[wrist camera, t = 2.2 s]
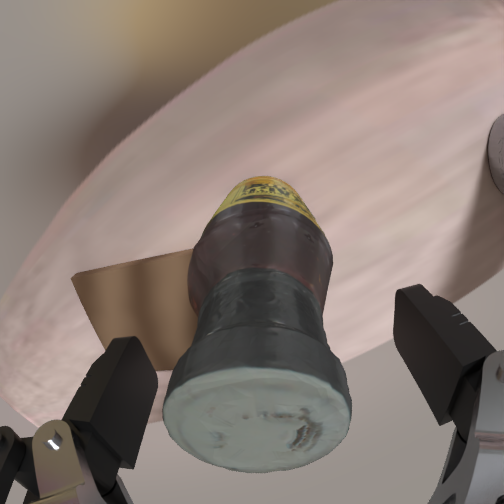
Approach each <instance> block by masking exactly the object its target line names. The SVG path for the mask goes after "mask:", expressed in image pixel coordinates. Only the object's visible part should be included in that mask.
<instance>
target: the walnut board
mask: <svg viewBox="0 0 504 504" xmlns="http://www.w3.org/2000/svg"><path fill="white" fill-rule="evenodd" d="M192 252H193V249H189V250H184V251H179V252H174V253H169V254H165V255H160V256H155V257H150V258H145V259H140V260H136V261H131V262H126V263H121V264H117V265H112V266H107V267H103V268H98V269H93V270H89V271H84V272H80V273H76V274H75V275H74V276H73V277H72V278H71V280H72V283H73V285H74V287H75V290H76V292H77V294H78V296H79V299H80V301H81V303H82V305H83V307H84V309H85V311H86V314H87V316H88V318H89V320H90V322H91V324H92V326H93V328H94V330H95V332H96V333H97V335H98V337H99V339H100V341H101V343H102V345H103V347H104V348H105V350H106V349H107V347H108V346H109V344H110V342H111V341H112V339H114V338H118V337H129V336H136V337H137V338H138V339H139V340H140V342H141V343H142V345H143V348H144V350H145V352H146V354H147V355H148V357H149V359H150V361H151V363H152V365H153V367H154V369H155V371H158V370H173V369H174V367H175V366H176V364H177V362H178V360H179V358H180V357H181V356H182V355H183V354H184V353H185V352H186V351H187V349H188V348H189V347H191V344H192V342H193V338H194V335H195V332H196V329H197V322H198V317H197V315H196V314H195V312H194V311H193V309H192V306H191V304H190V301H189V296H188V285H187V275H188V268H189V263H190V259H191V256H192Z"/></svg>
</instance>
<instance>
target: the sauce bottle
mask: <svg viewBox="0 0 504 504" xmlns="http://www.w3.org/2000/svg"><path fill="white" fill-rule="evenodd" d="M332 266H333V255H332V251H331V247H330V245H329V242H328V240H327V238H326V237H325V234H324V232H323V231H322V230H321V228H320V227H319V225H318V224H317V222H316V220H315V218H314V217H313V215H312V214H311V212H310V211H309V209H308V208H307V206H306V205H305V203H304V202H303V201H302V199H301V198H300V196H299V195H298V193H297V192H296V191H295V190H294V189H293V188H292V187H291V186H290V185H289V184H287V183H286V182H284V181H282V180H280V179H277V178H274V177H270V176H258V177H253V178H249V179H246V180H244V181H242V182H241V183H239V184H238V185H237V186H235V187H234V188H233V189H232V191H231V192H230V193H229V194H228V196H227V197H226V199H225V200H224V201H223V203H222V204H221V205H220V207H219V208H218V210H217V211H216V212H215V214H214V215H213V217H212V218H211V220H210V221H209V223H208V224H207V226H206V228H205V229H204V231H203V234H202V236H201V238H200V240H199V241H198V243H197V244H196V245H195V246H194V249H193V252H192V256H191V259H190V263H189V268H188V275H187V285H188V296H189V301H190V304H191V306H192V309H193V311H194V312H195V314H196V315H197V317H198V322H197V329H196V332H195V335H194V338H193V342H192V344H191V347H189V348H188V349H187V351H186V352H185V353H184V354H183V355H182V356H181V357H180V358H179V360H178V362H177V364H176V366H175V367H174V369H173V372H172V375H171V378H170V381H169V385H168V389H167V393H166V396H165V399H164V403H163V409H162V412H163V421H164V424H165V426H166V428H167V430H168V432H169V435H170V437H171V438H172V439H173V440H174V441H175V442H176V443H177V444H178V445H179V446H180V447H181V448H182V449H183V450H185V451H186V452H188V453H189V454H191V455H193V456H194V457H196V458H198V459H199V460H201V461H204V462H206V463H209V464H212V465H215V466H218V467H223V468H226V469H228V470H232V471H238V472H246V473H268V472H272V471H280V470H281V471H284V470H291V469H295V468H299V467H302V466H305V465H308V464H310V463H312V462H314V461H316V460H318V459H320V458H322V457H324V456H325V455H327V454H329V453H330V452H331V451H332V450H333V449H334V448H335V447H336V446H338V444H340V443H341V441H342V440H343V439H344V438H345V437H346V435H347V432H348V430H349V425H350V421H351V414H352V400H351V397H350V394H349V388H348V385H347V378H346V373H345V371H344V368H343V366H342V364H341V362H340V359H339V358H338V357H336V356H335V355H334V354H333V353H332V352H331V350H330V347H329V345H328V344H327V338H326V333H325V331H324V328H323V317H322V315H323V310H324V306H325V300H326V295H327V290H328V285H329V280H330V276H331V271H332Z"/></svg>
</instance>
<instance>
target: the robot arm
mask: <svg viewBox="0 0 504 504" xmlns="http://www.w3.org/2000/svg"><path fill="white" fill-rule="evenodd" d="M488 157H489V166H490V170H491V174H492V177H493V179H494V182H495V184H496V185H497V187H498V189H499V190H500V191H501V192H502V193H503V194H504V114H502V115H501V116H500V117H498V119H497V120H496V121H495V123H494V125H493V127H492V129H491V133H490V137H489V145H488ZM393 336H394V342H395V345H396V348H397V350H398V352H399V353H400V355H401V357H402V358H403V360H404V362H405V364H406V365H407V367H408V369H409V370H410V372H411V374H412V376H413V378H414V379H415V381H416V383H417V384H418V386H419V388H420V390H421V392H422V394H423V395H424V397H425V399H426V401H427V403H428V405H429V407H430V409H431V410H432V412H433V414H434V416H435V418H436V420H437V422H438V424H439V426H441V425H443V424H445V423H448V422H450V421H452V420H453V422H454V424H455V425H456V428H455V430H454V432H453V437H452V440H451V444H450V448H449V451H448V455H447V458H446V461H445V465H444V467H443V470H442V474H441V476H440V479H439V482H438V485H437V487H436V490H435V492H434V494H433V495H432V497H431V499H430V500H429V502H428V504H504V350H501V351H496V349H495V348H494V347H493V346H492V345H491V344H490V343H489V342H488V341H487V339H486V338H485V337H484V336H483V335H482V334H481V333H480V332H479V331H478V330H477V329H476V327H475V326H474V325H473V324H472V323H471V322H468V319H467V318H466V317H465V316H464V315H463V314H461V312H460V311H459V310H458V309H457V308H456V307H455V306H454V305H453V304H452V303H451V302H450V301H448V300H446V299H444V298H442V297H440V296H434V297H433V296H432V294H431V293H430V292H429V291H428V290H427V289H426V288H425V287H424V286H423V285H421V284H417V285H413V286H409V287H406V288H402V289H398V290H397V291H396V295H395V311H394V327H393ZM157 389H158V378H157V374H156V371H155V369H154V367H153V365H152V363H151V361H150V359H149V357H148V355H147V354H146V352H145V350H144V348H143V345H142V343H141V342H140V340H139V339H138V338H137V337H136V336H129V337H118V338H114V339H112V341H111V342H110V344H109V346H108V347H107V349H106V351H105V353H104V354H102V355H101V356H100V357H99V358H98V359H97V360H96V361H95V362H94V363H93V364H92V365H91V367H90V369H89V371H88V372H87V374H86V377H85V378H84V379H83V381H82V383H81V387H79V388H78V390H77V392H76V394H75V396H74V397H73V399H72V401H71V403H70V405H69V407H68V409H67V411H66V412H65V414H64V416H63V418H62V420H51V421H49V422H46V423H45V424H43V425H42V426H41V427H40V428H39V429H38V430H37V431H36V433H35V435H34V437H27V438H20V437H19V436H18V435H17V434H16V433H15V432H14V431H13V430H12V429H11V428H10V427H8V426H2V427H0V504H5V502H6V499H7V497H8V494H9V491H10V489H11V486H12V483H13V481H14V479H15V480H16V481H17V482H18V483H20V484H21V485H22V486H23V487H25V488H26V489H27V490H28V491H27V493H26V496H25V499H24V502H23V504H133V501H132V500H131V498H130V496H129V494H128V492H127V490H126V488H125V486H124V483H123V481H122V479H121V478H120V477H119V475H117V473H118V469H119V467H120V468H127V469H134V467H135V463H136V460H137V456H138V452H139V449H140V445H141V442H142V439H143V435H144V432H145V428H146V425H147V422H148V418H149V415H150V412H151V408H152V405H153V402H154V399H155V395H156V392H157Z"/></svg>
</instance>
